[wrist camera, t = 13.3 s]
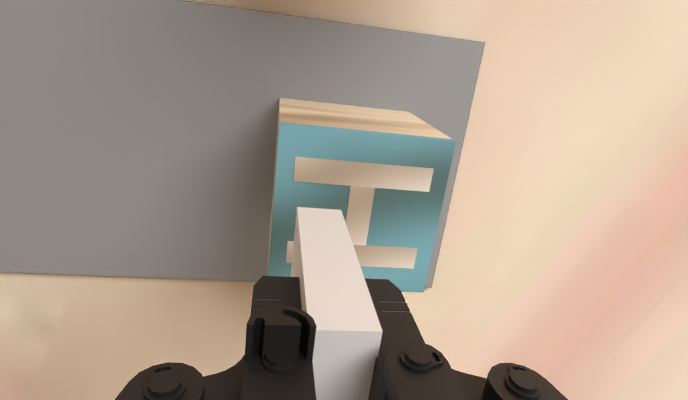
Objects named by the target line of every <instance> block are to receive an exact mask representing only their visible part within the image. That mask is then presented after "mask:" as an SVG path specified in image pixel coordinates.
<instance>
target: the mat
mask: <svg viewBox="0 0 688 400" xmlns="http://www.w3.org/2000/svg"><path fill="white" fill-rule="evenodd" d="M484 45H485V42H479V41H471V40H464V39H457V38H450V37H442V36H435V35H428V34H421V33H413V32H406V31H399V30H392V29H384V28H377V27H370V26H363V25H355V24H348V23H341V22H334V21H326V20H319V19H312V18H305V17H297V16H290V15H283V14H276V13H268V12H261V11H254V10H247V9H240V8H232V7H225V6H218V5H211V4H203V3H196V2H189V1H182V0H0V272H13V273H40V274H68V275H95V276H122V277H150V278H177V279H204V280H232V281H258V280H259V279H260V278H261V277H262V276H268V259H269V240H270V222H271V208H272V195H273V181H274V168H275V154H276V141H277V128H278V114H279V101H280V98H286V99H295V100H304V101H313V102H323V103H332V104H341V105H350V106H359V107H369V108H378V109H387V110H396V111H405V112H410V113H411V114H413V115H415V116H416V117H418V118H419V119H421V120H423V121H424V122H426V123H427V124H429V125H431V126H432V127H434V128H436V129H437V130H439V131H440V132H442V133H444V134H445V135H447V136H448V137H450V138H452V139H453V140H455V141H456V144H455V148H454V153H453V158H452V162H451V167H450V172H449V176H448V181H447V186H446V190H445V195H444V199H443V204H442V209H441V213H440V218H439V223H438V227H437V232H436V237H435V241H434V246H433V250H432V255H431V260H430V264H429V269H428V274H427V278H426V283H425V288H431V287H432V283H433V278H434V274H435V269H436V264H437V260H438V255H439V251H440V246H441V242H442V237H443V233H444V228H445V223H446V219H447V214H448V210H449V205H450V201H451V196H452V191H453V187H454V182H455V178H456V173H457V169H458V164H459V160H460V155H461V150H462V146H463V141H464V137H465V132H466V128H467V123H468V118H469V114H470V109H471V105H472V100H473V96H474V91H475V87H476V82H477V77H478V73H479V68H480V64H481V59H482V55H483V50H484Z"/></svg>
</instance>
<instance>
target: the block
mask: <svg viewBox="0 0 688 400" xmlns="http://www.w3.org/2000/svg"><path fill="white" fill-rule="evenodd" d="M455 144H456V141H455V140H453V139H452V138H450V137H448V136H447V135H445V134H444V133H442V132H440V131H439V130H437V129H436V128H434V127H432V126H431V125H429V124H427V123H426V122H424V121H423V120H421V119H419V118H418V117H416V116H415V115H413V114H411V113H410V112H405V111H396V110H387V109H378V108H369V107H359V106H350V105H341V104H332V103H323V102H313V101H304V100H295V99H286V98H280V101H279V114H278V128H277V141H276V154H275V168H274V181H273V195H272V208H271V222H270V240H269V259H268V276H282V277H291V267H292V256H293V245H294V235H295V224H296V213H297V207H306V208H321V209H336V210H341V211H342V214H343V217H344V220H345V223H346V225H347V228H348V231H349V234H350V237H351V240H352V243H353V246H354V249H355V252H356V255H357V258H358V261H359V264H360V267H361V270H362V272H363V275H364V278H367V279H389V280H390V281H391V282H392V283H393V284H394V285H395V286H397V287H398V288H399V289H400V290H401V292H424V288H425V283H426V278H427V274H428V269H429V264H430V260H431V255H432V250H433V246H434V241H435V237H436V232H437V227H438V223H439V218H440V213H441V209H442V204H443V199H444V195H445V190H446V186H447V181H448V176H449V172H450V167H451V162H452V158H453V153H454V148H455Z"/></svg>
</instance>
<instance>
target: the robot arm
mask: <svg viewBox="0 0 688 400" xmlns="http://www.w3.org/2000/svg"><path fill="white" fill-rule="evenodd" d="M115 400H568V399H567V398H566V397H564V396H563V395H562V394H561V393H560V392H559V391H558V390H557V389H556V388H555V387H554V386H553V385H552V384H551V383H550V382H548V381H547V380H546V379H545V378H544V377H542V376H541V375H540V374H538V373H537V372H535V371H533V370H531V369H529V368H527V367H525V366H521V365H517V364H513V363H500V364H497V365H495V366H493V367H492V368H491V370H490V372H489V373H488V377H487V379H486V378H482V377H478V376H474V375H470V374H466V373H462V372H459V371H456V370H453V369H451V367H450V365H449V363H448V361H447V360H446V358H445V357H444V356H443V354H442V353H441V352H439V351H438V350H436V349H435V348H434V347H432V346H430V345H427V344H425V342H424V340H423V338H422V336H421V334H420V331H419V329H418V327H417V325H416V323H415V321H414V319H413V316H412V314H411V313H410V310H409V308H408V306H407V303H405V299H404V297H403V295H402V293H401V290H400V289H399V288H398V287H397V286H395V285H394V284H393V283H392V282H391V281H390V280H389V279H367V278H364V275H363V272H362V270H361V267H360V264H359V261H358V258H357V255H356V252H355V249H354V246H353V243H352V240H351V237H350V234H349V231H348V228H347V225H346V223H345V220H344V217H343V214H342V211H341V210H336V209H321V208H306V207H297V213H296V224H295V235H294V245H293V256H292V267H291V277H282V276H262V277H261V278H260V279H259V280H258V282H257V283H256V284H255V285H254V289H253V298H252V307H251V317H250V319H249V321H248V323H247V330H246V348H245V355H244V356H243V358H242V359H241V360H240V361H239V362H238V363H237V364H236V365H235V366H233V367H231V368H229V369H227V370H226V371H223V372H220V373H217V374H213V375H209V376H205V377H202V374H201V373H200V372H199V371H197V370H196V369H195V368H194V367H192V366H189V365H186V364H183V363H164V364H159V365H155V366H152V367H150V368H148V369H145V370H143V371H141V372H139V373H138V374H137V375H136V376H135V377H134V378H133V379H132V380H130V381H129V382H128V384H127V385H126V386H125V387H124V389H123V390H122V391H121V393H120V394H119V395H118V396H117V398H116V399H115Z"/></svg>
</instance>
